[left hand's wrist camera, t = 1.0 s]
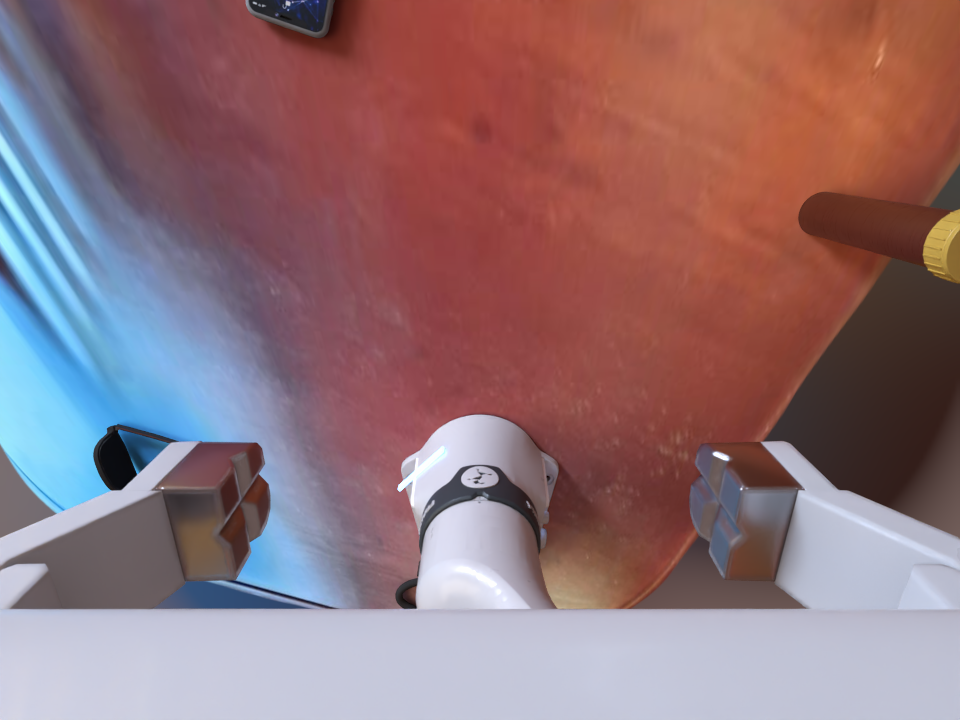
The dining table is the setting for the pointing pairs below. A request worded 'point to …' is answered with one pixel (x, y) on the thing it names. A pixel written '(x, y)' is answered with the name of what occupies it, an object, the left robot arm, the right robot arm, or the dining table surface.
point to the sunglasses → (118, 457)
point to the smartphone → (295, 14)
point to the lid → (944, 248)
